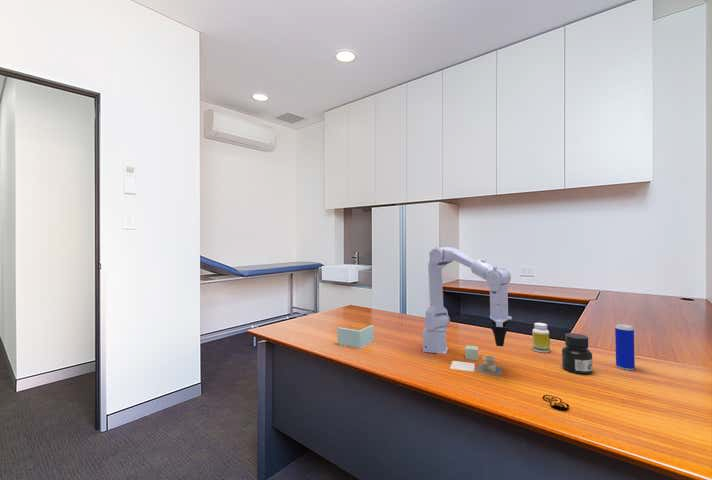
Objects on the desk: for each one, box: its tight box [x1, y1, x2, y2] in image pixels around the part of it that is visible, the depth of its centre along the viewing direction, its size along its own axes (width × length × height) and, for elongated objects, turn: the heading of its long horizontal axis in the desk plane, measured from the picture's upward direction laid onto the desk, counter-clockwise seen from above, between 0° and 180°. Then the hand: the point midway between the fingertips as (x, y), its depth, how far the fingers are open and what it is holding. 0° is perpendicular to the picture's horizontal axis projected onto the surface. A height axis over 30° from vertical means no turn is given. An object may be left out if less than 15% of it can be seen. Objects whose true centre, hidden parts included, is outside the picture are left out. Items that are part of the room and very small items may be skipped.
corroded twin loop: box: [542, 394, 570, 412], centre depth 91 cm, size 5×8×1 cm, turn 2°
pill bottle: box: [531, 322, 551, 354], centre depth 134 cm, size 6×6×11 cm
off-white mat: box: [449, 360, 476, 373], centre depth 118 cm, size 8×8×1 cm
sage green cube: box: [464, 344, 479, 361], centre depth 126 cm, size 4×4×4 cm
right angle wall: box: [336, 324, 375, 349], centre depth 149 cm, size 12×12×8 cm
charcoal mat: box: [476, 363, 503, 376], centre depth 114 cm, size 8×8×1 cm
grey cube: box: [482, 355, 496, 372], centre depth 114 cm, size 4×4×4 cm
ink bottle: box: [561, 332, 593, 375], centre depth 114 cm, size 10×9×12 cm
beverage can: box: [614, 323, 636, 371], centre depth 115 cm, size 5×5×15 cm
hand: (499, 342), depth 113 cm, fingers open, 7 cm apart
